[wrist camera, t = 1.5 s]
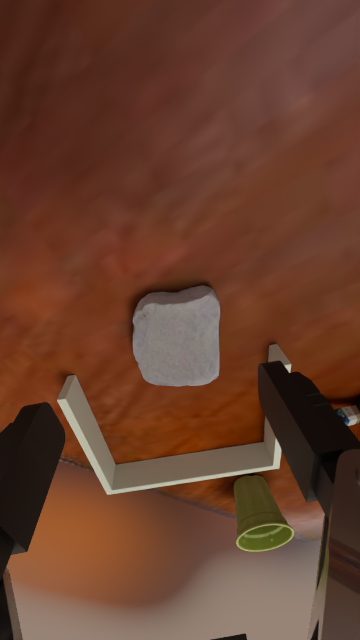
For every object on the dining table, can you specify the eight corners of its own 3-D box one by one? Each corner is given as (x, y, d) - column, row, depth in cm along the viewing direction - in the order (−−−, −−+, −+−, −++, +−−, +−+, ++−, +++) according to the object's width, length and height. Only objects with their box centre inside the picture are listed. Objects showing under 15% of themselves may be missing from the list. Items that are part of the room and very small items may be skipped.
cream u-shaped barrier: (67, 376, 32) (56, 400, 29) (276, 344, 32) (291, 364, 29) (111, 468, 43) (107, 494, 39) (269, 444, 43) (279, 468, 39)
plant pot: (214, 486, 48) (224, 543, 40) (252, 462, 45) (271, 519, 37) (245, 500, 52) (260, 555, 44) (282, 479, 49) (305, 534, 41)
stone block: (146, 365, 35) (220, 366, 33) (137, 390, 31) (220, 393, 29) (132, 283, 29) (219, 280, 28) (118, 300, 25) (220, 298, 24)
